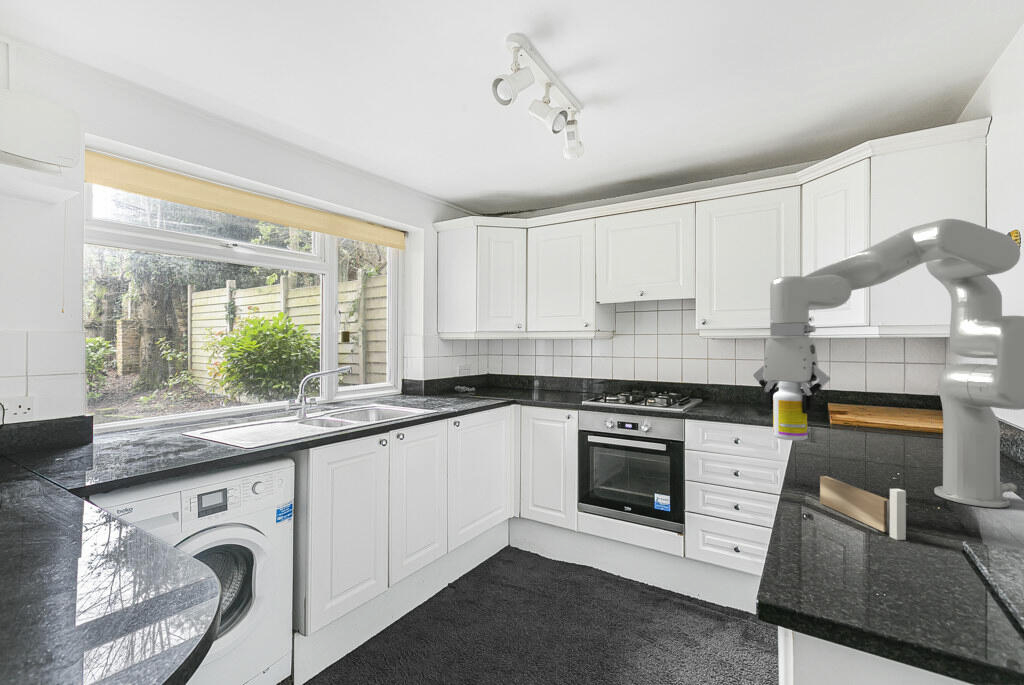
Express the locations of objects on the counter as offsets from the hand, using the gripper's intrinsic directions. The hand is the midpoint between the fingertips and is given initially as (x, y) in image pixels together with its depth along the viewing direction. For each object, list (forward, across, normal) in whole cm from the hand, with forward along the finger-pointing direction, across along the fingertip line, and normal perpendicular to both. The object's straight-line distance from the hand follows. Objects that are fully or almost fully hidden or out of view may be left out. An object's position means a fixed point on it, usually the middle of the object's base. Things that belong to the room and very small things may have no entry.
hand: (789, 410), depth 107 cm
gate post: (+21, -20, +3) cm, 30 cm away
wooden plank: (+21, -12, -2) cm, 24 cm away
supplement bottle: (+6, 0, 0) cm, 6 cm away
